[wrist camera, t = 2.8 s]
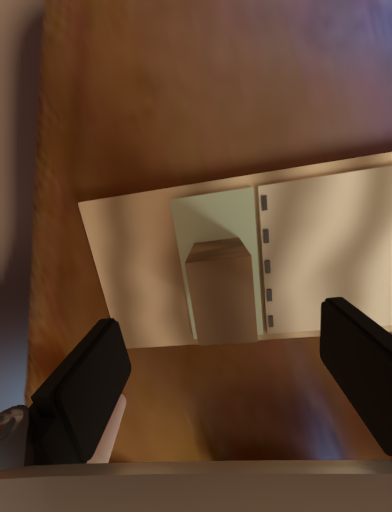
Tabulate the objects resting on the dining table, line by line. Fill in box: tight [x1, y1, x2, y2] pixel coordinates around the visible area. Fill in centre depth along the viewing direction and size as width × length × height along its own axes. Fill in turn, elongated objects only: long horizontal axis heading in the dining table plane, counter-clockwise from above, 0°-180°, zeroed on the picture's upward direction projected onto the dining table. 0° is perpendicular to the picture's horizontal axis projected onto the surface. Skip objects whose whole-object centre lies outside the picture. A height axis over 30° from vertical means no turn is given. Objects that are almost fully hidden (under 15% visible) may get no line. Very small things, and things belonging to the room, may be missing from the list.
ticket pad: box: [78, 152, 392, 349], centre depth 19 cm, size 33×16×3 cm, turn 98°
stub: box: [170, 187, 263, 346], centre depth 16 cm, size 7×14×6 cm, turn 8°
